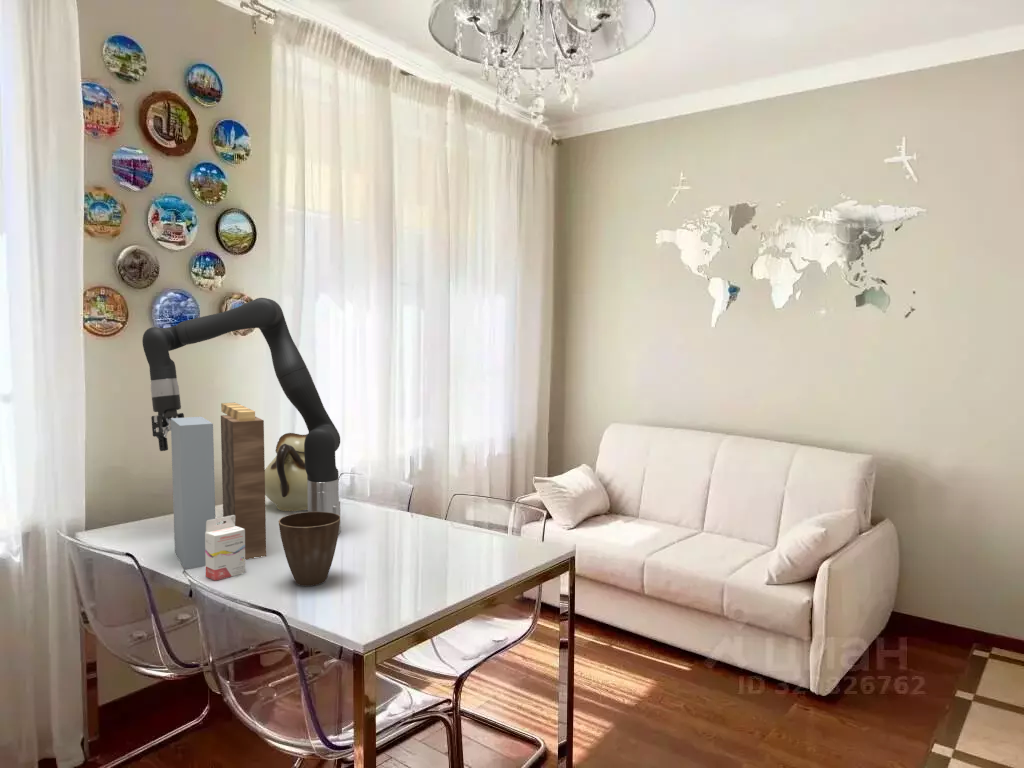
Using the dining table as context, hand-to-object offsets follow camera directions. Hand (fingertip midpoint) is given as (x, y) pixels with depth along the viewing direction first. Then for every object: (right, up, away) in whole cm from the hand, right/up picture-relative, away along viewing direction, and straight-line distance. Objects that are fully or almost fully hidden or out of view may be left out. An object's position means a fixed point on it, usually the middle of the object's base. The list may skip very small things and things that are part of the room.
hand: (171, 449), depth 217 cm
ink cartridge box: (+27, -30, -29) cm, 50 cm away
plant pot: (+50, -31, -32) cm, 67 cm away
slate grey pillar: (+14, -29, -16) cm, 36 cm away
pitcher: (+25, -24, +39) cm, 52 cm away
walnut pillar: (+25, -28, -9) cm, 39 cm away
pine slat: (+23, +10, -8) cm, 26 cm away
